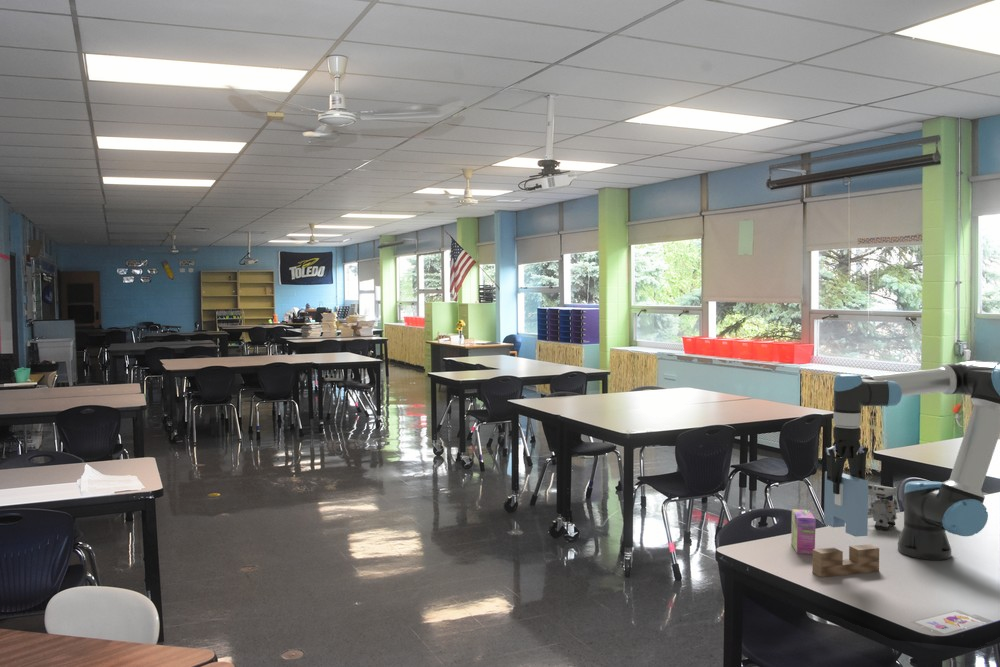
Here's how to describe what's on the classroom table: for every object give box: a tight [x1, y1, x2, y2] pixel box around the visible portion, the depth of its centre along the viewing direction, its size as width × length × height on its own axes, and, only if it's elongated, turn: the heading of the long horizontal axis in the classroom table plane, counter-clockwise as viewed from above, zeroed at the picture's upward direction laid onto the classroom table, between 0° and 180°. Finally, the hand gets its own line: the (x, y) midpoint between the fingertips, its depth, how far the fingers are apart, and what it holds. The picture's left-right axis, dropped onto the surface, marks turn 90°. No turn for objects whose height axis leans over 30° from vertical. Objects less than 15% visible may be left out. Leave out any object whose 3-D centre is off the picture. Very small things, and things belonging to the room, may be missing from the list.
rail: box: [811, 543, 880, 578], centre depth 228 cm, size 20×4×7 cm, turn 104°
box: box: [790, 508, 817, 555], centre depth 250 cm, size 10×6×12 cm, turn 168°
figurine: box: [868, 483, 899, 532], centre depth 276 cm, size 9×12×15 cm
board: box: [823, 471, 869, 538], centre depth 228 cm, size 14×4×16 cm, turn 14°
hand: (845, 504), depth 228 cm, fingers closed on board, 4 cm apart
